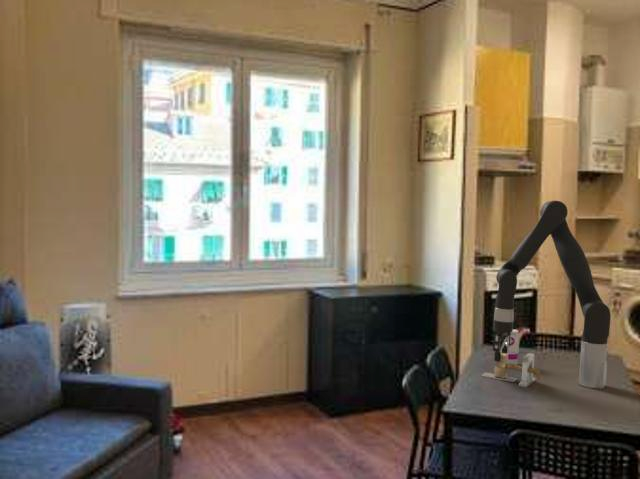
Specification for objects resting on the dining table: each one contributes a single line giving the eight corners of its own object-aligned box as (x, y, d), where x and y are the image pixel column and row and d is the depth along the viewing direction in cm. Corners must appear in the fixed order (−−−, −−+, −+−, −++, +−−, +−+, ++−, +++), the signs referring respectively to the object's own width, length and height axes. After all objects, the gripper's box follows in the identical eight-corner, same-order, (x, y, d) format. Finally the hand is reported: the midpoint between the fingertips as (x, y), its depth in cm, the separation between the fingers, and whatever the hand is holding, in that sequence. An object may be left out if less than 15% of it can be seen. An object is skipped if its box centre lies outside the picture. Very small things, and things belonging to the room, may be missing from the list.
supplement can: (513, 367, 273) (515, 333, 272) (495, 364, 278) (497, 330, 277) (520, 364, 279) (522, 330, 278) (502, 360, 284) (504, 327, 283)
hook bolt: (540, 382, 250) (542, 359, 249) (538, 384, 246) (539, 361, 246) (497, 374, 259) (498, 352, 258) (494, 376, 256) (495, 354, 255)
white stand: (535, 380, 255) (536, 353, 254) (526, 387, 245) (528, 358, 244) (488, 371, 265) (489, 345, 264) (478, 378, 255) (479, 350, 254)
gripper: (507, 323, 247) (504, 364, 248) (518, 318, 259) (515, 357, 260) (488, 320, 251) (485, 361, 252) (500, 315, 263) (497, 354, 264)
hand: (500, 359), depth 256 cm, fingers open, 8 cm apart
